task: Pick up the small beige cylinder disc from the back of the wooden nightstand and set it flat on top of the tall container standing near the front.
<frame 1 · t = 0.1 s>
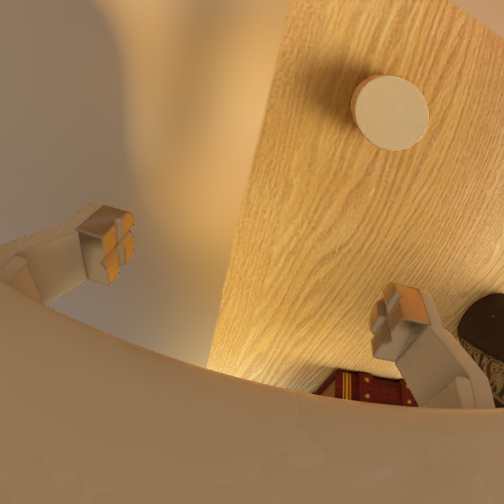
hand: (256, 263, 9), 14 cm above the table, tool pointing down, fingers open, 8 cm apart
beige cylinder disc: (382, 106, 17), on the table
container: (485, 318, 26), on the table
decorative book: (368, 395, 37), on the table
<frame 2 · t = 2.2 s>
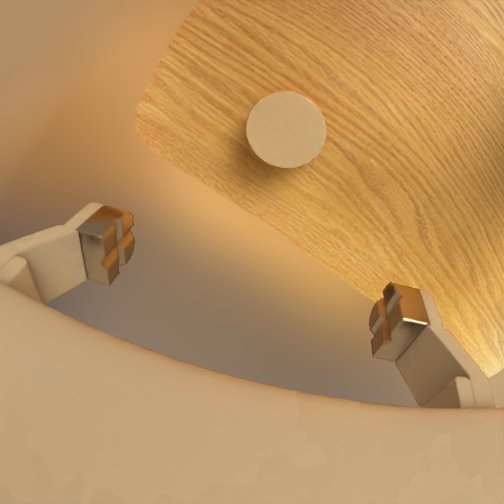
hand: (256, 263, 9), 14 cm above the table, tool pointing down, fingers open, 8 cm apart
beige cylinder disc: (289, 122, 19), on the table
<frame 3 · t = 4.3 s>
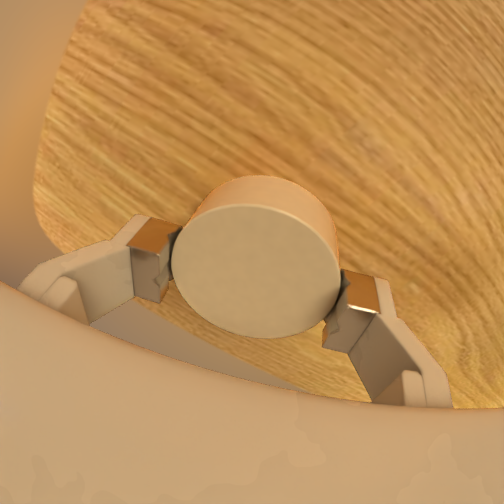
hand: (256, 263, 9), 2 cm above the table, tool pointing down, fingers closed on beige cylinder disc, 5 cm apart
beige cylinder disc: (267, 228, 11), on the table, touching gripper
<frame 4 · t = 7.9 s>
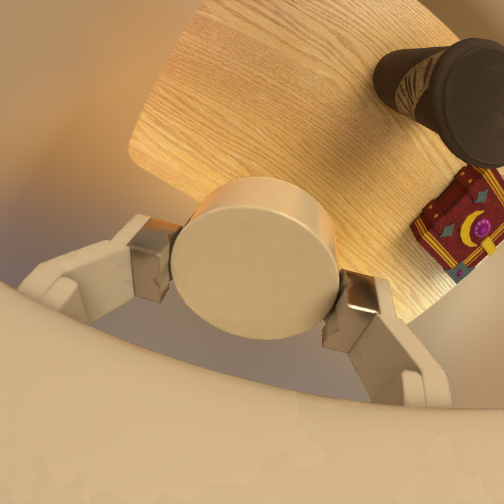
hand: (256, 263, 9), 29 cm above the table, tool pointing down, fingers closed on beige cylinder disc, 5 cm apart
beige cylinder disc: (266, 229, 11), point 27 cm above the table, touching gripper
container: (406, 81, 27), on the table
decorative book: (466, 209, 35), on the table
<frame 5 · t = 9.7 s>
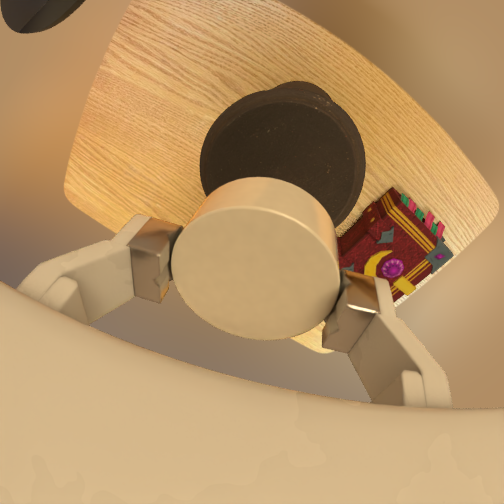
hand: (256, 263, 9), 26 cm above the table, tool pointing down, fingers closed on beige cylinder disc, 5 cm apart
beige cylinder disc: (267, 230, 11), point 24 cm above the table, touching gripper
container: (297, 115, 30), on the table
decorative book: (382, 245, 38), on the table
when the fingers open (22 cm above the table, at t = 11.4 s): beige cylinder disc stays where it is, resting on container.
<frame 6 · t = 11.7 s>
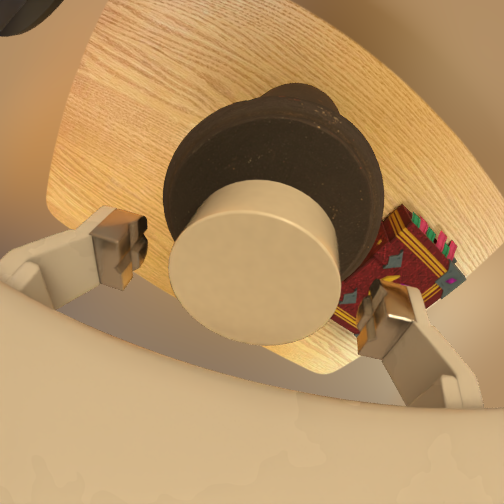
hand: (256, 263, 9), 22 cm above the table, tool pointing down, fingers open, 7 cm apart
beige cylinder disc: (266, 233, 11), point 20 cm above the table, touching container
container: (295, 122, 27), on the table, touching beige cylinder disc
decorative book: (388, 266, 34), on the table
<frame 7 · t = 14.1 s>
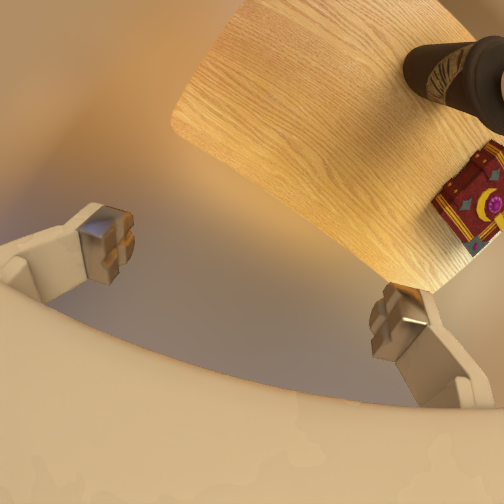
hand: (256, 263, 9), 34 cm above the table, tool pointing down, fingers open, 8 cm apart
container: (430, 72, 29), on the table, touching beige cylinder disc
decorative book: (479, 189, 36), on the table
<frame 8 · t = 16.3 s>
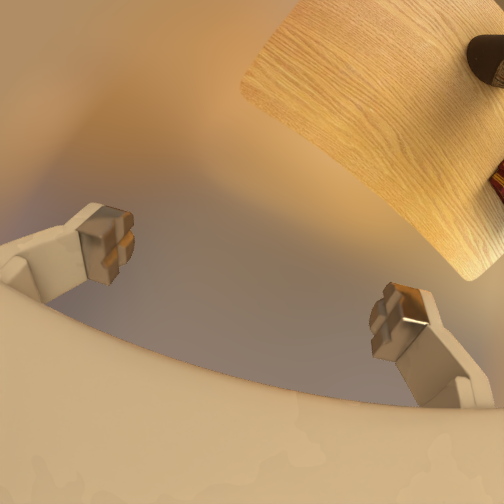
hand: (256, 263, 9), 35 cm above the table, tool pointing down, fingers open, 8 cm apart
container: (488, 59, 26), on the table, touching beige cylinder disc
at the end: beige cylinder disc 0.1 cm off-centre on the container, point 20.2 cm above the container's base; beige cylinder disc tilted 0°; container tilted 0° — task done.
